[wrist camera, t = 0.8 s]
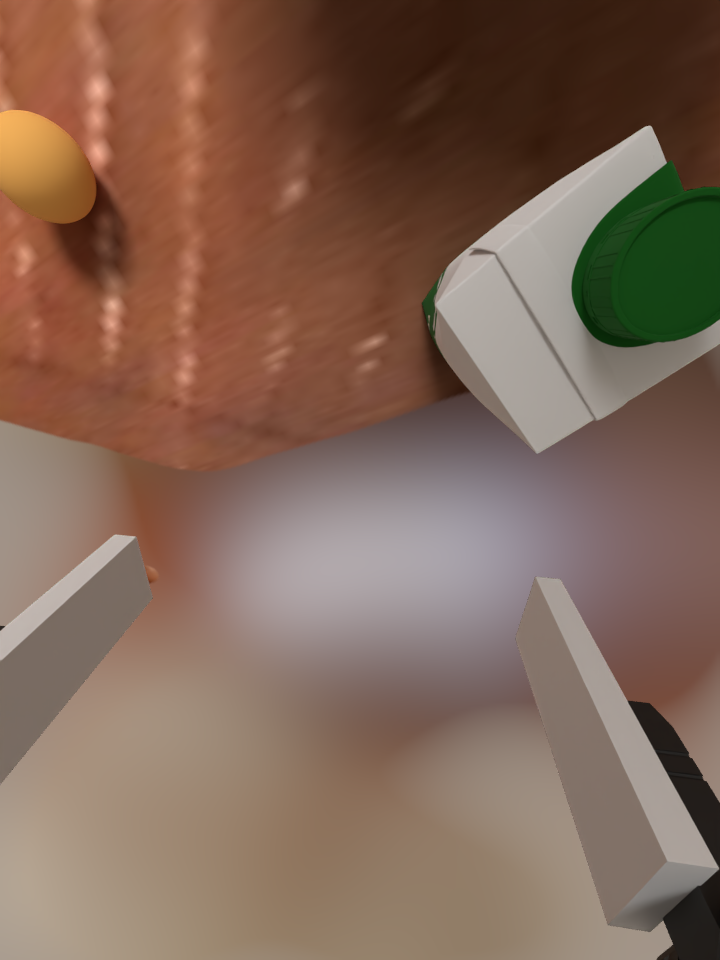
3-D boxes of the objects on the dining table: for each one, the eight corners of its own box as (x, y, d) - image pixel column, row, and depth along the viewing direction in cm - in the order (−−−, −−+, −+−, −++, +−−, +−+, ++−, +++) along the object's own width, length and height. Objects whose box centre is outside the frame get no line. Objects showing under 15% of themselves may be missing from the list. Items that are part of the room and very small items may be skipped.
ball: (27, 129, 28) (-64, 87, 22) (106, 135, 27) (33, 93, 22) (50, 226, 30) (-27, 210, 25) (122, 233, 30) (60, 218, 24)
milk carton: (565, 316, 29) (826, 340, 11) (465, 389, 32) (545, 498, 14) (505, 213, 27) (717, 36, 9) (403, 302, 30) (408, 303, 12)
